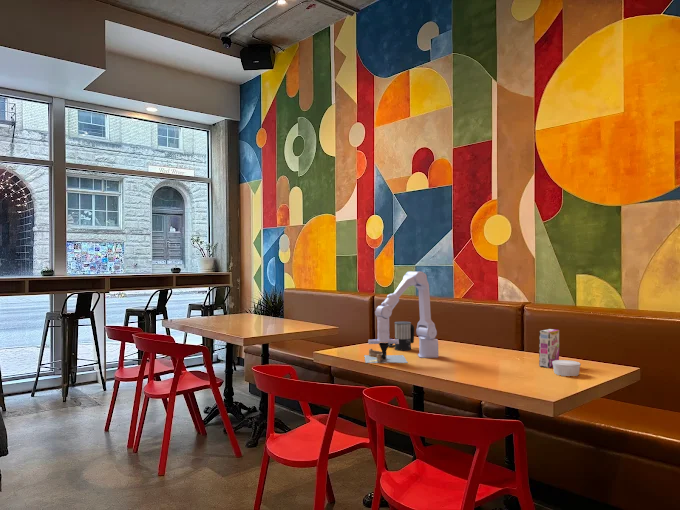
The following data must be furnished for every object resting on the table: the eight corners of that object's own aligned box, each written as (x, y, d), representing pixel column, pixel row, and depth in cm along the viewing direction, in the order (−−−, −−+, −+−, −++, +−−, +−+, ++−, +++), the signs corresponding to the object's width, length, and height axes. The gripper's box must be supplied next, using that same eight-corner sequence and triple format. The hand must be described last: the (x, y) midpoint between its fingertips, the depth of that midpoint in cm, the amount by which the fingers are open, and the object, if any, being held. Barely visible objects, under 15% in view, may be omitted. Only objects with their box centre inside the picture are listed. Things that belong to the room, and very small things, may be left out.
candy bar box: (549, 368, 233) (549, 331, 233) (538, 366, 236) (538, 330, 236) (560, 364, 240) (559, 329, 241) (549, 363, 244) (549, 328, 244)
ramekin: (564, 378, 213) (564, 365, 213) (546, 372, 224) (546, 360, 224) (586, 376, 216) (586, 364, 217) (568, 371, 227) (567, 359, 227)
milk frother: (408, 351, 276) (408, 323, 276) (380, 349, 283) (380, 322, 283) (416, 347, 289) (416, 320, 289) (389, 345, 296) (389, 319, 296)
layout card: (403, 355, 264) (403, 355, 264) (407, 363, 245) (407, 362, 245) (364, 355, 264) (364, 355, 264) (365, 363, 245) (365, 362, 245)
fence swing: (382, 358, 255) (382, 351, 255) (386, 358, 254) (386, 351, 254) (376, 361, 246) (376, 354, 246) (380, 361, 245) (379, 355, 246)
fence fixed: (370, 355, 263) (370, 348, 263) (387, 358, 256) (387, 351, 256) (368, 356, 262) (368, 348, 262) (384, 359, 254) (384, 351, 254)
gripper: (397, 329, 253) (398, 357, 253) (368, 329, 253) (368, 357, 253) (399, 331, 246) (399, 359, 246) (368, 331, 246) (369, 360, 246)
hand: (383, 358), depth 249 cm, fingers closed, pressing on fence swing
